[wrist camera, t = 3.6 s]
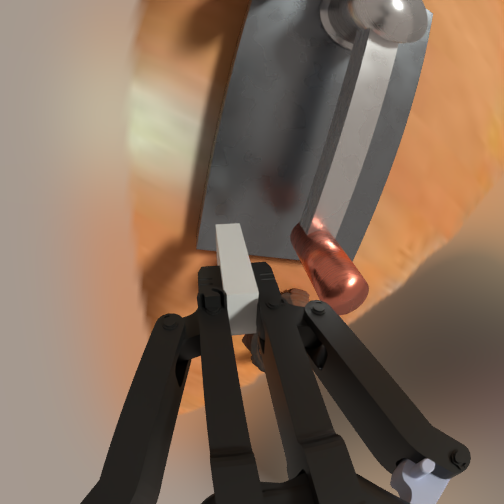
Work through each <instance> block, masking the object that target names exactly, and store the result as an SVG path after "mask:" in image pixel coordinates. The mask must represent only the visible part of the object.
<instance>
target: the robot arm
mask: <svg viewBox="0 0 504 504" xmlns="http://www.w3.org/2000/svg"><path fill="white" fill-rule="evenodd" d="M216 249H217V265H218V266H206V267H201V269H200V270H199V272H198V289H199V293H198V295H197V302H198V309H197V310H196V311H195V312H194V313H193V314H191V315H189V316H186V317H183V318H182V317H181V316H179V315H177V314H165V315H163V316H161V317H160V318H158V320H157V321H156V323H155V326H154V328H153V330H152V333H151V335H150V338H149V340H148V343H147V345H146V348H145V350H144V353H143V355H142V358H141V361H140V363H139V366H138V368H137V371H136V373H135V376H134V379H133V381H132V384H131V387H130V390H129V392H128V395H127V398H126V401H125V403H124V406H123V409H122V412H121V414H120V417H119V420H118V423H117V426H116V429H115V432H114V435H113V438H112V441H111V444H110V447H109V450H108V454H107V457H106V460H105V463H104V467H103V470H102V474H101V477H100V480H99V481H98V482H97V484H96V485H95V486H94V488H93V489H92V490H91V491H90V492H89V494H88V495H87V496H86V497H85V498H84V500H83V501H82V502H81V503H80V504H156V503H157V499H158V496H159V493H160V489H161V484H162V479H163V474H164V470H165V466H166V461H167V457H168V453H169V448H170V444H171V440H172V435H173V431H174V427H175V423H176V419H177V415H178V411H179V407H180V403H181V399H182V395H183V391H184V387H185V383H186V379H187V375H188V371H189V367H190V363H191V359H192V358H195V357H198V356H201V362H202V376H203V388H204V400H205V410H206V421H207V430H208V438H209V448H210V464H211V471H212V480H213V487H214V494H212V495H211V496H209V497H208V498H206V499H205V500H204V501H203V502H202V503H201V504H436V503H437V501H438V500H439V498H440V496H441V494H442V493H443V491H444V489H445V487H446V485H447V484H448V482H449V480H450V479H451V478H452V477H454V476H456V475H458V474H460V473H461V472H463V471H464V470H466V469H467V467H468V466H469V463H470V459H471V457H470V452H469V450H468V448H467V447H466V446H465V445H463V444H462V443H460V442H458V441H456V440H455V439H453V438H451V437H450V436H448V435H446V434H445V433H443V432H441V431H440V430H438V429H436V428H435V427H433V426H432V425H431V424H430V423H429V422H428V420H427V419H426V418H425V417H424V416H423V414H422V413H421V412H420V411H419V409H418V408H417V407H416V406H415V405H414V403H413V402H412V401H411V400H410V399H409V397H408V396H407V395H406V394H405V393H404V391H403V390H402V389H401V388H400V387H399V385H398V384H397V383H396V382H395V381H394V379H393V378H392V377H391V376H390V375H389V373H388V372H387V371H386V370H385V369H384V368H383V366H382V365H381V364H380V363H379V362H378V361H377V359H376V358H375V357H374V356H373V355H372V354H371V352H370V351H369V350H368V349H367V348H366V347H365V345H364V344H363V343H362V342H361V341H360V340H359V338H358V337H357V336H356V335H355V334H354V333H353V331H352V330H351V329H350V328H349V327H348V326H347V325H346V323H345V322H344V321H343V320H342V319H341V318H340V317H339V315H338V314H337V313H336V312H335V311H334V310H333V309H332V307H331V306H330V305H328V304H327V303H326V302H323V301H319V300H314V301H310V302H308V303H307V304H306V306H305V307H301V306H295V305H291V304H289V303H288V302H287V301H286V299H285V298H283V297H282V296H281V293H280V291H279V288H278V285H277V282H276V280H275V277H274V274H273V271H272V269H271V267H270V266H269V265H268V264H267V263H266V262H255V263H250V259H249V255H248V252H247V248H246V245H245V241H244V237H243V234H242V230H241V226H240V223H234V224H216ZM256 329H257V331H258V345H257V351H259V350H260V352H261V357H262V361H263V365H264V369H265V374H266V378H267V382H268V386H269V390H270V394H271V399H272V403H273V407H274V411H275V415H276V419H277V424H278V428H279V432H280V435H281V440H282V444H283V447H284V452H285V456H286V460H287V473H288V478H289V480H288V481H286V482H284V483H271V482H260V480H259V475H258V470H257V466H256V461H255V457H254V453H253V452H252V448H251V443H250V438H249V433H248V428H247V423H246V417H245V412H244V406H243V401H242V396H241V389H240V384H239V378H238V372H237V366H236V360H235V354H234V348H233V342H232V335H242V334H252V333H256ZM312 369H313V370H314V372H315V373H316V375H317V376H318V378H319V379H320V381H321V382H322V383H323V385H324V386H325V388H326V389H327V390H328V392H329V393H330V395H331V396H332V398H333V399H334V401H335V402H336V403H337V405H338V406H339V408H340V409H341V411H342V412H343V413H344V415H345V416H346V418H347V419H348V420H349V422H350V423H351V425H352V426H353V427H354V429H355V430H356V432H357V433H358V435H359V436H360V437H361V439H362V440H363V442H364V443H365V444H366V446H367V447H368V449H369V450H370V451H371V452H372V454H373V455H374V457H375V458H376V459H377V461H378V462H379V463H380V464H381V465H382V466H383V467H384V468H385V469H386V470H387V471H389V472H390V473H391V474H392V477H391V482H390V483H391V484H390V485H391V486H392V488H394V489H395V490H397V492H398V493H399V496H400V498H399V497H397V496H395V495H393V494H391V493H390V492H388V491H386V490H384V489H382V488H381V487H379V486H377V485H375V484H373V483H372V482H370V481H368V480H367V479H365V478H363V477H362V476H360V475H358V474H356V473H355V470H354V467H353V464H352V461H351V459H350V456H349V453H348V450H347V447H346V444H345V442H344V440H343V439H342V437H341V436H340V435H338V434H336V433H335V431H334V429H333V426H332V423H331V420H330V418H329V415H328V412H327V409H326V406H325V404H324V401H323V398H322V395H321V392H320V389H319V386H318V384H317V381H316V378H315V375H314V373H313V370H312Z"/></svg>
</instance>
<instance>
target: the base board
mask: <svg viewBox="0 0 504 504" xmlns="http://www.w3.org/2000/svg"><path fill="white" fill-rule="evenodd" d="M330 1H331V0H249V3H248V7H247V10H246V13H245V17H244V20H243V24H242V27H241V31H240V34H239V38H238V42H237V45H236V49H235V53H234V57H233V61H232V64H231V68H230V72H229V76H228V80H227V84H226V89H225V93H224V97H223V101H222V106H221V110H220V115H219V119H218V124H217V128H216V133H215V138H214V142H213V147H212V152H211V157H210V162H209V167H208V172H207V178H206V183H205V189H204V194H203V200H202V205H201V211H200V217H199V223H198V229H197V236H196V249H201V250H210V251H217V249H216V224H234V223H240V226H241V230H242V234H243V237H244V241H245V245H246V248H247V252H248V255H256V256H265V257H275V258H284V259H293V260H300V259H299V257H298V255H297V253H296V251H295V249H294V248H293V246H292V244H291V241H290V235H291V232H292V230H293V228H294V227H295V226H296V224H298V223H299V222H300V220H301V217H302V214H303V211H304V208H305V205H306V202H307V199H308V196H309V193H310V189H311V186H312V183H313V180H314V177H315V174H316V171H317V168H318V165H319V161H320V158H321V155H322V152H323V149H324V145H325V142H326V139H327V135H328V132H329V129H330V126H331V122H332V119H333V115H334V112H335V109H336V105H337V102H338V98H339V95H340V91H341V88H342V84H343V81H344V77H345V74H346V70H347V66H348V63H349V59H350V55H351V52H352V48H353V44H351V43H349V42H347V41H345V40H344V39H343V38H341V37H340V36H339V35H338V34H337V33H336V32H335V30H334V29H333V27H332V26H331V24H330V21H329V18H328V6H329V3H330ZM426 12H427V16H428V26H427V30H426V32H425V34H424V36H423V37H422V38H421V39H420V40H418V41H416V42H412V43H399V44H398V48H397V52H396V57H395V60H394V64H393V68H392V72H391V76H390V79H389V83H388V87H387V90H386V94H385V97H384V101H383V104H382V107H381V111H380V114H379V117H378V121H377V124H376V127H375V130H374V133H373V136H372V139H371V142H370V145H369V148H368V151H367V154H366V157H365V160H364V163H363V166H362V169H361V172H360V175H359V177H358V180H357V183H356V186H355V188H354V191H353V194H352V197H351V199H350V202H349V205H348V207H347V210H346V212H345V215H344V218H343V220H342V223H341V225H340V228H339V230H338V233H337V235H336V238H335V239H336V241H337V242H338V243H339V245H340V246H341V247H342V249H343V250H344V251H345V253H346V254H347V256H348V257H349V258H350V260H351V261H353V259H354V257H355V255H356V253H357V250H358V248H359V246H360V244H361V242H362V239H363V237H364V235H365V232H366V230H367V228H368V225H369V223H370V221H371V218H372V216H373V213H374V211H375V209H376V206H377V204H378V201H379V199H380V196H381V194H382V191H383V188H384V186H385V183H386V181H387V178H388V175H389V173H390V170H391V167H392V164H393V161H394V159H395V156H396V153H397V150H398V147H399V144H400V141H401V138H402V135H403V132H404V129H405V126H406V123H407V119H408V116H409V113H410V109H411V106H412V103H413V99H414V96H415V92H416V88H417V85H418V81H419V77H420V73H421V69H422V65H423V61H424V56H425V52H426V47H427V43H428V38H429V33H430V28H431V22H432V17H433V13H431V12H430V11H429V10H427V9H426Z"/></svg>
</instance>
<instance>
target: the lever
mask: <svg viewBox="0 0 504 504" xmlns="http://www.w3.org/2000/svg"><path fill="white" fill-rule="evenodd" d="M328 18H329V21H330V24H331V26H332V27H333V29H334V30H335V32H336V33H337V34H338V35H339V36H340V37H341V38H343V39H344V40H345V41H347V42H349V43H351V44H353V48H352V52H351V55H350V59H349V63H348V66H347V70H346V74H345V77H344V81H343V84H342V88H341V91H340V95H339V98H338V102H337V105H336V109H335V112H334V115H333V119H332V122H331V126H330V129H329V132H328V135H327V139H326V142H325V145H324V149H323V152H322V155H321V158H320V161H319V165H318V168H317V171H316V174H315V177H314V180H313V183H312V186H311V189H310V193H309V196H308V199H307V202H306V205H305V208H304V211H303V214H302V217H301V220H300V222H299V223H298V224H296V226H295V227H294V228H293V230H292V232H291V235H290V241H291V244H292V246H293V248H294V249H295V251H296V253H297V255H298V257H299V259H300V261H301V263H302V265H303V267H304V269H305V271H306V273H307V275H308V277H309V279H310V281H311V283H312V285H313V287H314V289H315V291H316V293H317V295H318V297H319V299H320V301H323V302H326V303H327V304H328V305H330V306H331V307H332V309H333V310H334V311H335V312H336V313H337V314H338V315H344V314H347V313H350V312H352V311H354V310H355V309H356V308H358V307H359V306H360V305H361V304H362V303H363V302H364V300H365V299H366V297H367V295H368V291H369V287H368V284H367V282H366V281H365V279H364V278H363V276H362V275H361V273H360V272H359V271H358V269H357V268H356V267H355V265H354V264H353V262H352V261H351V260H350V258H349V257H348V256H347V254H346V253H345V251H344V250H343V249H342V247H341V246H340V245H339V243H338V242H337V241H336V239H335V238H336V235H337V233H338V230H339V228H340V225H341V223H342V220H343V218H344V215H345V212H346V210H347V207H348V205H349V202H350V199H351V197H352V194H353V191H354V188H355V186H356V183H357V180H358V177H359V175H360V172H361V169H362V166H363V163H364V160H365V157H366V154H367V151H368V148H369V145H370V142H371V139H372V136H373V133H374V130H375V127H376V124H377V121H378V117H379V114H380V111H381V107H382V104H383V101H384V97H385V94H386V90H387V87H388V83H389V79H390V76H391V72H392V68H393V64H394V60H395V57H396V52H397V48H398V44H399V43H412V42H416V41H418V40H420V39H421V38H422V37H423V36H424V34H425V32H426V30H427V26H428V16H427V12H426V8H425V6H424V4H423V2H422V0H331V1H330V3H329V6H328Z"/></svg>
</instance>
